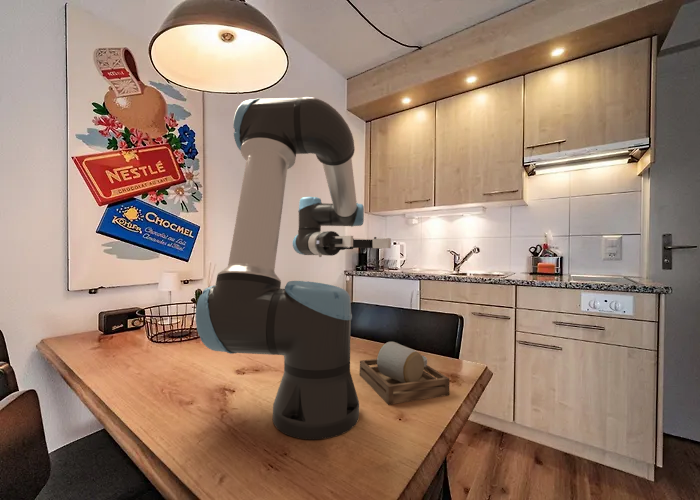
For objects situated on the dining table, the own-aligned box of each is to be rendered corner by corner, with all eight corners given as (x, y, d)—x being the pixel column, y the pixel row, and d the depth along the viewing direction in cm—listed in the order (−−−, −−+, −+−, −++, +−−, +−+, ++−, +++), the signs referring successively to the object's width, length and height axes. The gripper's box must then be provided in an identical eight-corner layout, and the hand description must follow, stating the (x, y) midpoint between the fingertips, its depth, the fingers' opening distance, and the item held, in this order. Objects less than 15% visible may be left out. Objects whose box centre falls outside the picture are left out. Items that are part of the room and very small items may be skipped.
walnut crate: (388, 404, 60) (388, 386, 60) (359, 374, 74) (359, 360, 74) (449, 395, 64) (449, 378, 64) (410, 368, 79) (411, 355, 79)
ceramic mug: (410, 394, 64) (401, 361, 62) (380, 382, 70) (372, 352, 69) (437, 364, 71) (430, 335, 69) (408, 356, 77) (401, 328, 75)
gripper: (355, 255, 106) (403, 256, 90) (289, 254, 90) (333, 255, 74) (355, 233, 106) (403, 230, 90) (290, 229, 90) (333, 224, 74)
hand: (371, 242), depth 82 cm, fingers open, 13 cm apart
